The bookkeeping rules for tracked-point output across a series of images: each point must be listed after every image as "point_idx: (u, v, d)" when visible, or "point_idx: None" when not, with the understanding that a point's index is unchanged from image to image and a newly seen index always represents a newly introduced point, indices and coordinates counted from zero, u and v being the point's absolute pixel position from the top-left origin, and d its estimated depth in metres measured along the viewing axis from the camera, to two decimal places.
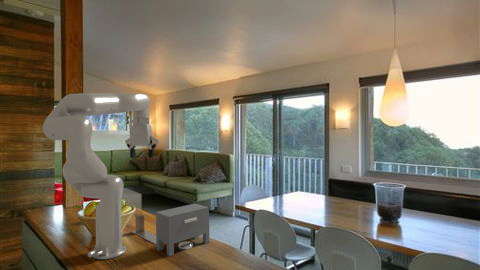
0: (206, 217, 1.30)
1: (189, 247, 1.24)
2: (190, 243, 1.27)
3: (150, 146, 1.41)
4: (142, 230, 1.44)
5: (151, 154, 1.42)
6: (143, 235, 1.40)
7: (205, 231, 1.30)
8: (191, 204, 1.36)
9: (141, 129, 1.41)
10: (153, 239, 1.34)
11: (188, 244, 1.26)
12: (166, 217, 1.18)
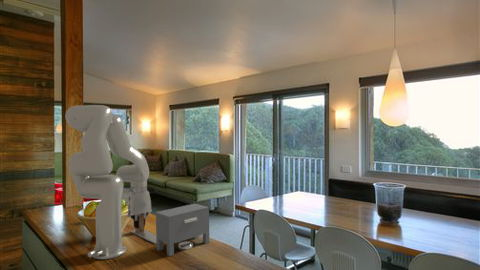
0: (206, 217, 1.30)
1: (189, 247, 1.24)
2: (190, 243, 1.27)
3: (146, 215, 1.46)
4: (142, 229, 1.44)
5: (144, 223, 1.46)
6: (143, 234, 1.40)
7: (205, 231, 1.30)
8: (191, 204, 1.36)
9: (145, 197, 1.45)
10: (153, 238, 1.34)
11: (188, 244, 1.26)
12: (166, 217, 1.18)
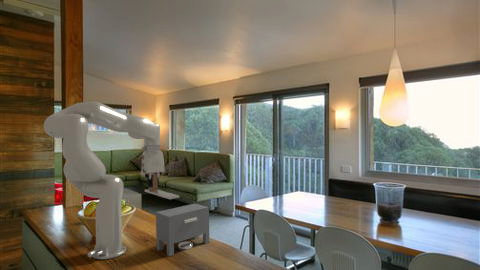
0: (206, 217, 1.30)
1: (189, 247, 1.24)
2: (190, 243, 1.27)
3: (159, 175, 1.47)
4: (155, 188, 1.45)
5: (158, 182, 1.47)
6: (157, 192, 1.40)
7: (205, 231, 1.30)
8: (191, 204, 1.36)
9: (158, 156, 1.45)
10: (167, 195, 1.35)
11: (188, 244, 1.26)
12: (166, 217, 1.18)
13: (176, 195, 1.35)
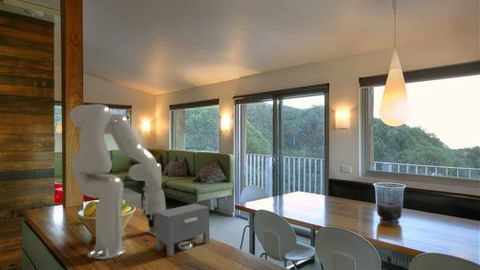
0: (206, 217, 1.30)
1: (189, 247, 1.24)
2: (190, 243, 1.27)
3: None
4: None
5: None
6: None
7: (205, 231, 1.30)
8: (191, 204, 1.36)
9: (159, 196, 1.44)
10: None
11: (188, 244, 1.26)
12: (166, 217, 1.18)
13: None
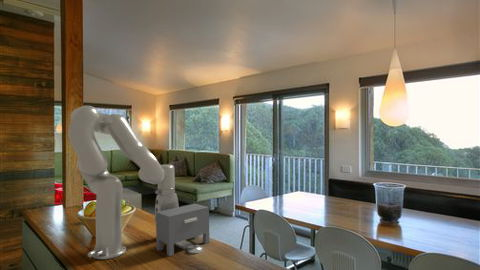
0: (206, 217, 1.30)
1: (199, 251, 1.20)
2: (199, 246, 1.23)
3: None
4: None
5: None
6: None
7: (205, 231, 1.30)
8: (191, 204, 1.36)
9: (173, 199, 1.36)
10: (183, 244, 1.27)
11: (197, 247, 1.21)
12: (166, 217, 1.18)
13: (192, 244, 1.26)
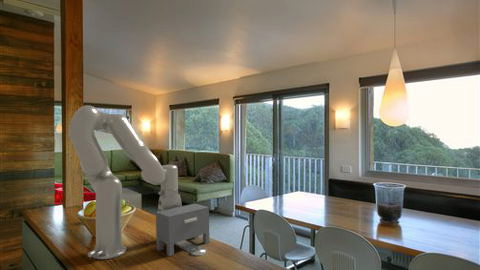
0: (206, 217, 1.30)
1: (202, 253, 1.18)
2: (203, 249, 1.21)
3: None
4: None
5: None
6: None
7: (205, 231, 1.30)
8: (191, 204, 1.36)
9: (176, 200, 1.34)
10: (186, 246, 1.25)
11: (201, 250, 1.20)
12: (166, 217, 1.18)
13: (195, 246, 1.25)
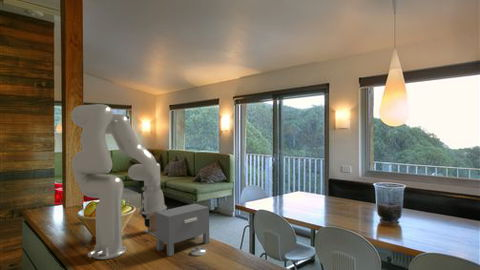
0: (206, 217, 1.30)
1: (202, 253, 1.18)
2: (203, 249, 1.21)
3: None
4: (154, 229, 1.45)
5: None
6: None
7: (205, 231, 1.30)
8: (191, 204, 1.36)
9: (158, 195, 1.45)
10: None
11: (201, 250, 1.20)
12: (166, 217, 1.18)
13: None
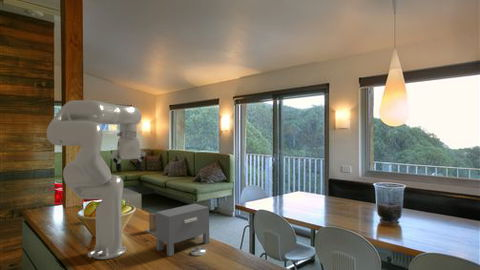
0: (206, 217, 1.30)
1: (202, 253, 1.18)
2: (203, 249, 1.21)
3: (140, 158, 1.46)
4: (155, 229, 1.46)
5: None
6: None
7: (205, 231, 1.30)
8: (191, 204, 1.36)
9: (134, 142, 1.43)
10: None
11: (201, 250, 1.20)
12: (166, 217, 1.18)
13: None
